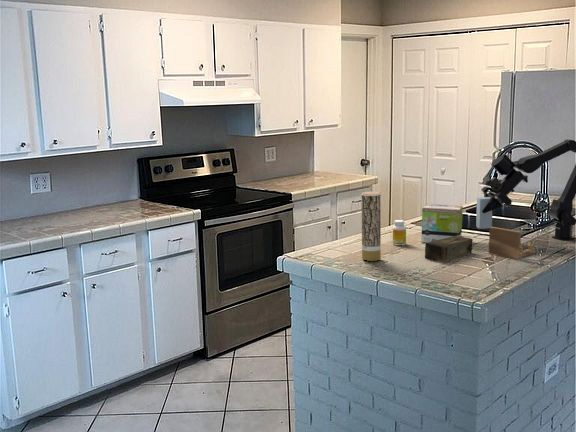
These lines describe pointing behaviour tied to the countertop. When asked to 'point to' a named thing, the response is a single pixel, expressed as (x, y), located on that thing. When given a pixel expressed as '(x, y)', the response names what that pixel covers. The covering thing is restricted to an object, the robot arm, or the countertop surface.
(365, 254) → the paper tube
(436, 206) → the tea box
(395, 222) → the supplement bottle
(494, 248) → the wooden knob panel
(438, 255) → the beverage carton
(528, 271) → the countertop surface
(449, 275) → the countertop surface
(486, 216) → the grey block
